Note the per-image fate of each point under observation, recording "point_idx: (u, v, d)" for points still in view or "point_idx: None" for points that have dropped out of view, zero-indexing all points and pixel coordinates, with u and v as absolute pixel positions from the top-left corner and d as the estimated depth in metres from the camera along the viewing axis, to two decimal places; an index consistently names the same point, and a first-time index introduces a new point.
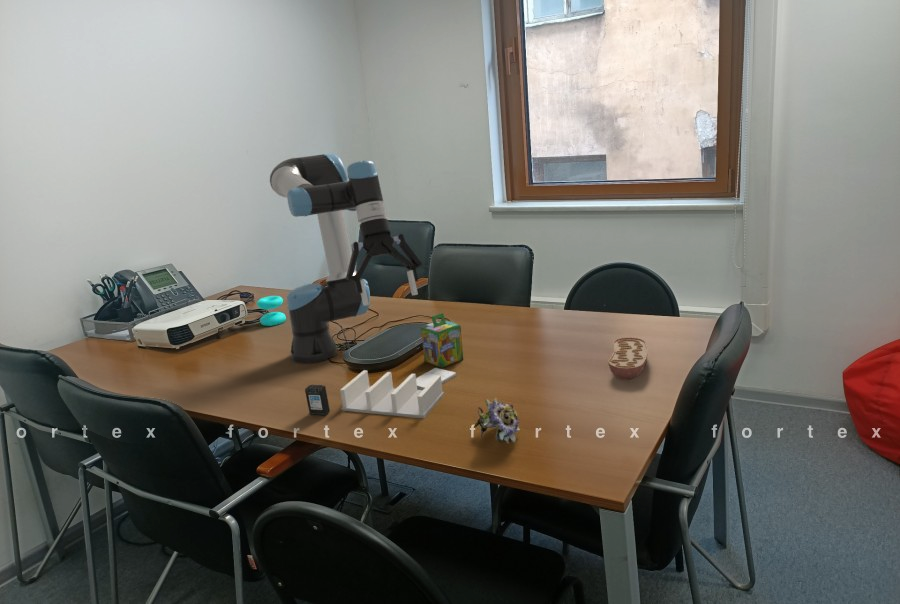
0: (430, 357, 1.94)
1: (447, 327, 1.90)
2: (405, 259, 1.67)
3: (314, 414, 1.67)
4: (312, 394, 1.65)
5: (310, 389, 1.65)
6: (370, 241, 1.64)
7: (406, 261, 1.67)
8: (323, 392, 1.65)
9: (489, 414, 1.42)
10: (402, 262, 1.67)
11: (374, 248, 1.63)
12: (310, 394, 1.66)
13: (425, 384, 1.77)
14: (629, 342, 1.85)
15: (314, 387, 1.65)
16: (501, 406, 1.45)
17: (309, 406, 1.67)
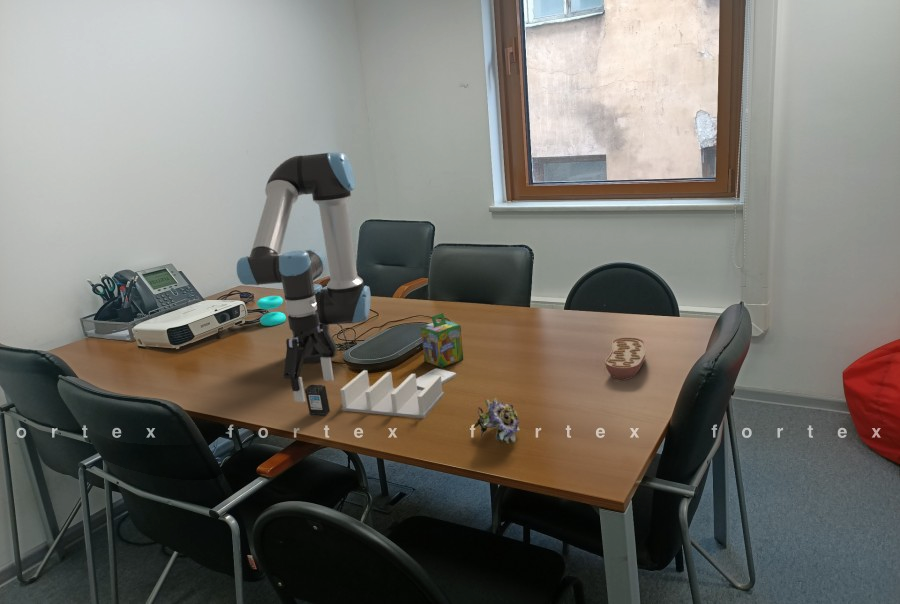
0: (430, 357, 1.94)
1: (447, 327, 1.90)
2: (325, 348, 1.68)
3: (314, 414, 1.67)
4: (312, 394, 1.65)
5: (310, 389, 1.65)
6: (304, 336, 1.59)
7: (326, 350, 1.68)
8: (323, 392, 1.65)
9: (489, 414, 1.42)
10: (321, 350, 1.68)
11: (308, 343, 1.60)
12: (310, 394, 1.66)
13: (425, 384, 1.77)
14: (628, 342, 1.85)
15: (314, 387, 1.65)
16: (501, 406, 1.45)
17: (309, 406, 1.67)
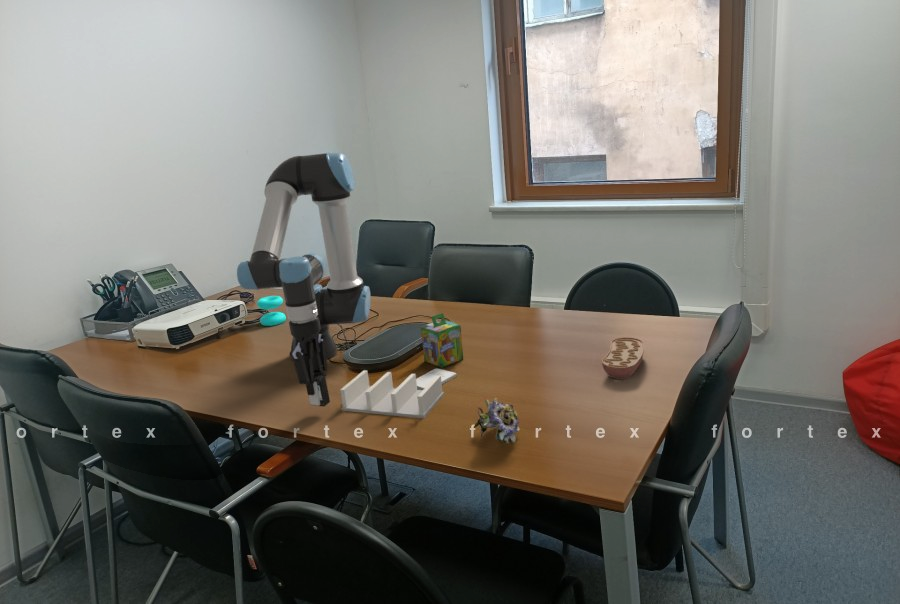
0: (430, 357, 1.94)
1: (447, 327, 1.90)
2: (320, 363, 1.66)
3: None
4: None
5: None
6: (304, 340, 1.59)
7: (320, 366, 1.66)
8: (322, 383, 1.64)
9: (489, 414, 1.42)
10: (315, 364, 1.66)
11: (311, 348, 1.61)
12: None
13: (425, 384, 1.77)
14: (627, 342, 1.85)
15: (314, 377, 1.65)
16: (501, 406, 1.45)
17: None
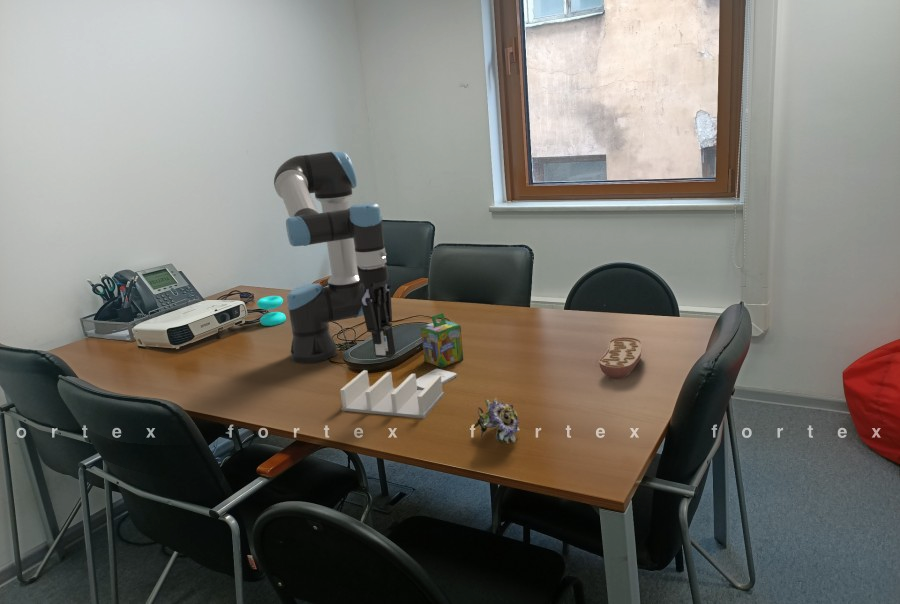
0: (430, 357, 1.94)
1: (447, 327, 1.90)
2: (386, 313, 1.65)
3: (380, 355, 1.65)
4: None
5: None
6: (373, 287, 1.58)
7: (386, 316, 1.65)
8: (389, 333, 1.63)
9: (489, 414, 1.42)
10: (381, 314, 1.64)
11: (380, 295, 1.60)
12: None
13: (425, 385, 1.77)
14: (625, 342, 1.85)
15: None
16: (501, 406, 1.45)
17: None
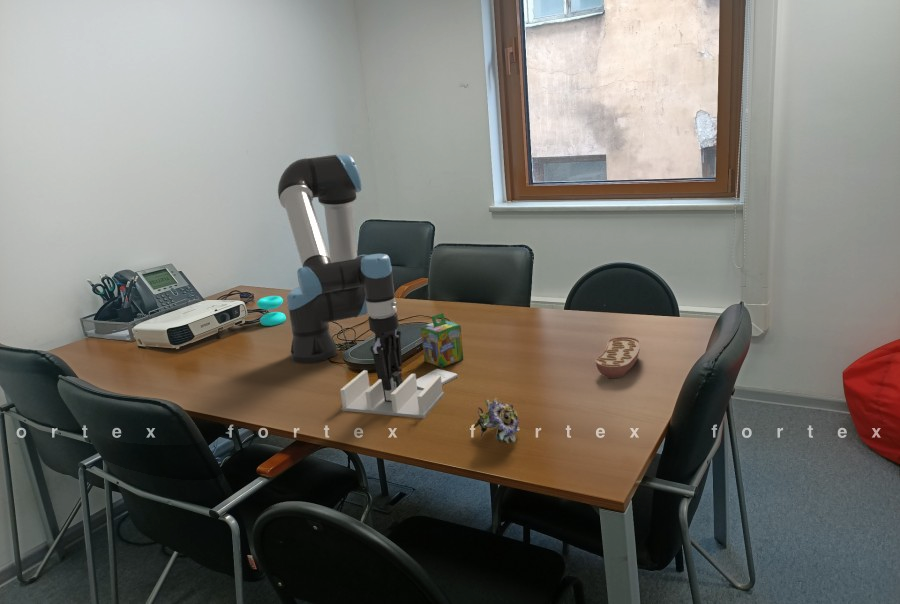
0: (430, 357, 1.94)
1: (447, 327, 1.90)
2: (396, 359, 1.69)
3: None
4: None
5: None
6: (384, 336, 1.62)
7: (396, 362, 1.69)
8: (399, 379, 1.67)
9: (489, 414, 1.42)
10: (391, 360, 1.69)
11: (390, 343, 1.64)
12: None
13: (425, 385, 1.77)
14: (624, 342, 1.85)
15: None
16: (501, 406, 1.45)
17: (384, 392, 1.69)
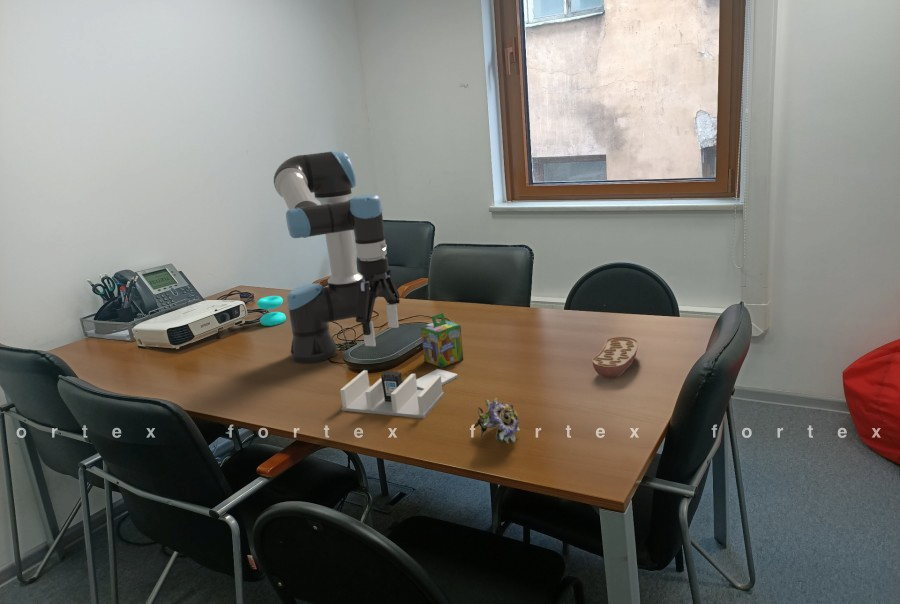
0: (430, 357, 1.94)
1: (447, 327, 1.90)
2: (392, 294, 1.68)
3: (389, 400, 1.69)
4: (388, 380, 1.67)
5: (386, 375, 1.67)
6: (374, 280, 1.59)
7: (392, 296, 1.69)
8: (399, 379, 1.67)
9: (489, 414, 1.42)
10: (387, 297, 1.68)
11: (379, 287, 1.60)
12: (386, 380, 1.68)
13: (425, 385, 1.77)
14: (622, 341, 1.86)
15: (390, 373, 1.67)
16: (501, 406, 1.45)
17: (384, 392, 1.69)
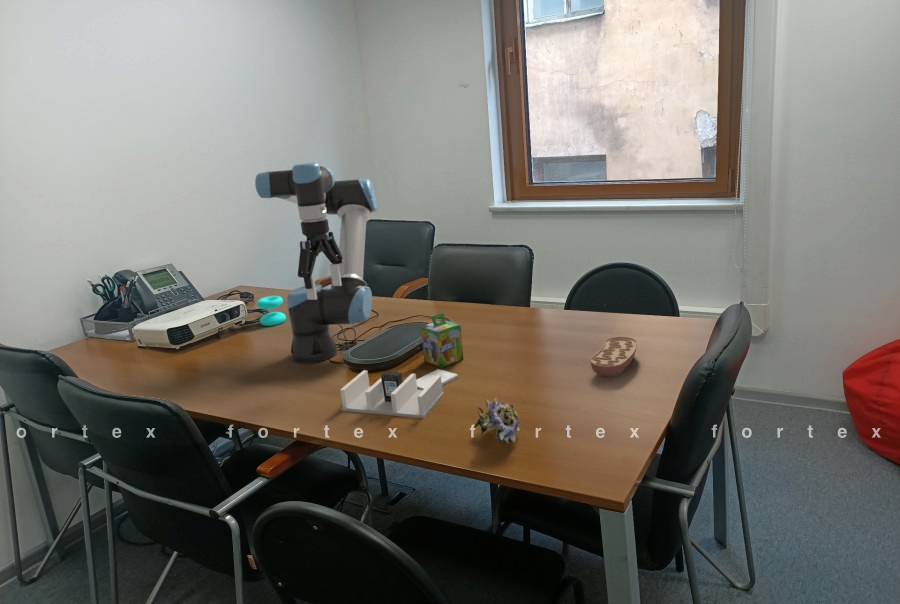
0: (430, 357, 1.94)
1: (447, 327, 1.90)
2: (334, 254, 1.86)
3: (389, 400, 1.69)
4: (388, 380, 1.67)
5: (386, 375, 1.67)
6: (315, 240, 1.77)
7: (335, 257, 1.86)
8: (399, 379, 1.67)
9: (489, 414, 1.42)
10: (330, 257, 1.86)
11: (319, 246, 1.77)
12: (386, 380, 1.68)
13: (425, 385, 1.77)
14: (621, 341, 1.86)
15: (390, 373, 1.67)
16: (501, 406, 1.45)
17: (384, 392, 1.69)
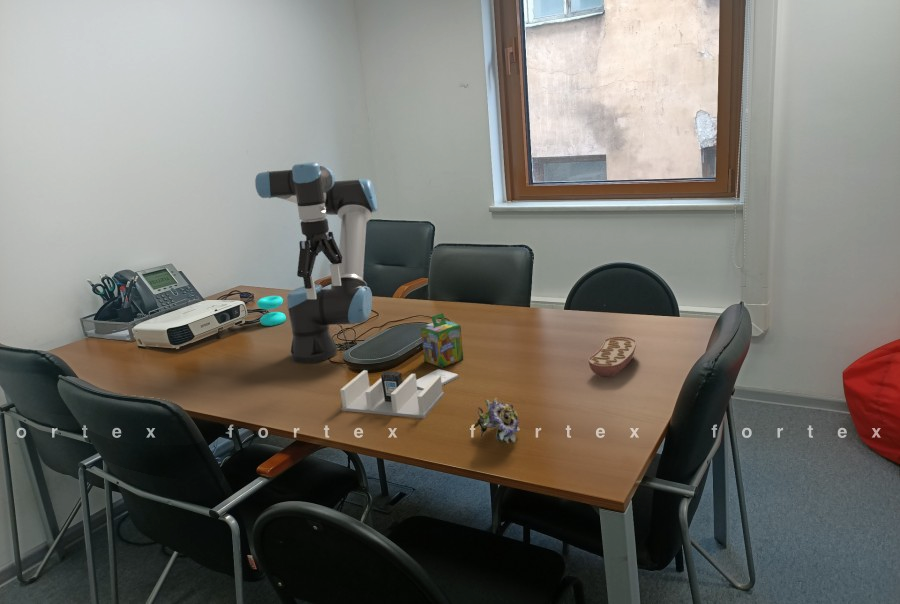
0: (430, 357, 1.94)
1: (447, 327, 1.90)
2: (334, 254, 1.86)
3: (389, 400, 1.69)
4: (388, 380, 1.67)
5: (386, 375, 1.67)
6: (315, 239, 1.77)
7: (334, 257, 1.86)
8: (399, 379, 1.67)
9: (489, 414, 1.42)
10: (330, 257, 1.86)
11: (319, 246, 1.77)
12: (386, 380, 1.68)
13: (426, 385, 1.77)
14: (620, 341, 1.86)
15: (390, 373, 1.67)
16: (501, 406, 1.45)
17: (384, 392, 1.69)
